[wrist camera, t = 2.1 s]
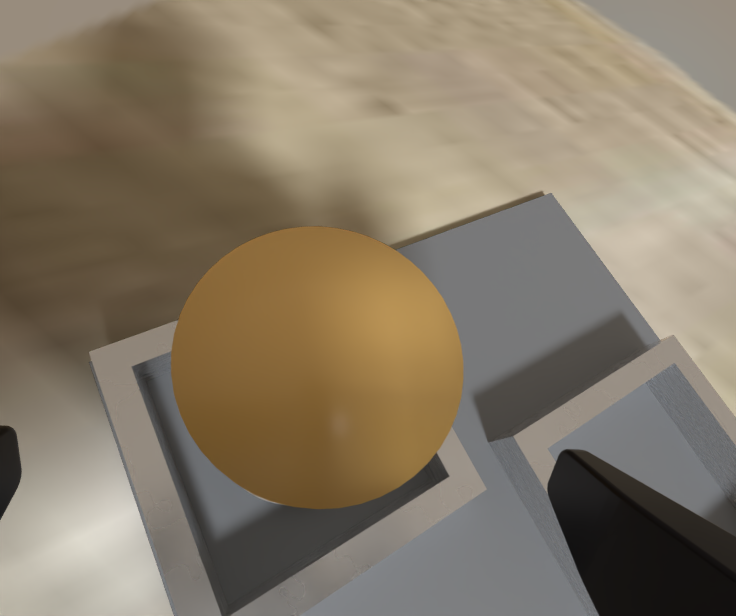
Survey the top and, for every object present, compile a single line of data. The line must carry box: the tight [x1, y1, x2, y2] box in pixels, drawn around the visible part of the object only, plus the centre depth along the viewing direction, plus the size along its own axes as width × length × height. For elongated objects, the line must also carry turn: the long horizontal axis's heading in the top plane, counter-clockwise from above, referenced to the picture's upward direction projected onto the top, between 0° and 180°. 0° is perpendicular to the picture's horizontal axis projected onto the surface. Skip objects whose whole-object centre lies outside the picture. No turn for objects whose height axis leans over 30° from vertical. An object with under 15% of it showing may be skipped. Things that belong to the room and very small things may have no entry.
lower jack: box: [488, 335, 736, 616], centre depth 18 cm, size 10×10×2 cm
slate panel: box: [89, 193, 736, 616], centre depth 18 cm, size 21×24×1 cm
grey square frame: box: [89, 320, 487, 616], centre depth 15 cm, size 10×10×2 cm
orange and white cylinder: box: [171, 226, 463, 509], centre depth 12 cm, size 5×5×10 cm
